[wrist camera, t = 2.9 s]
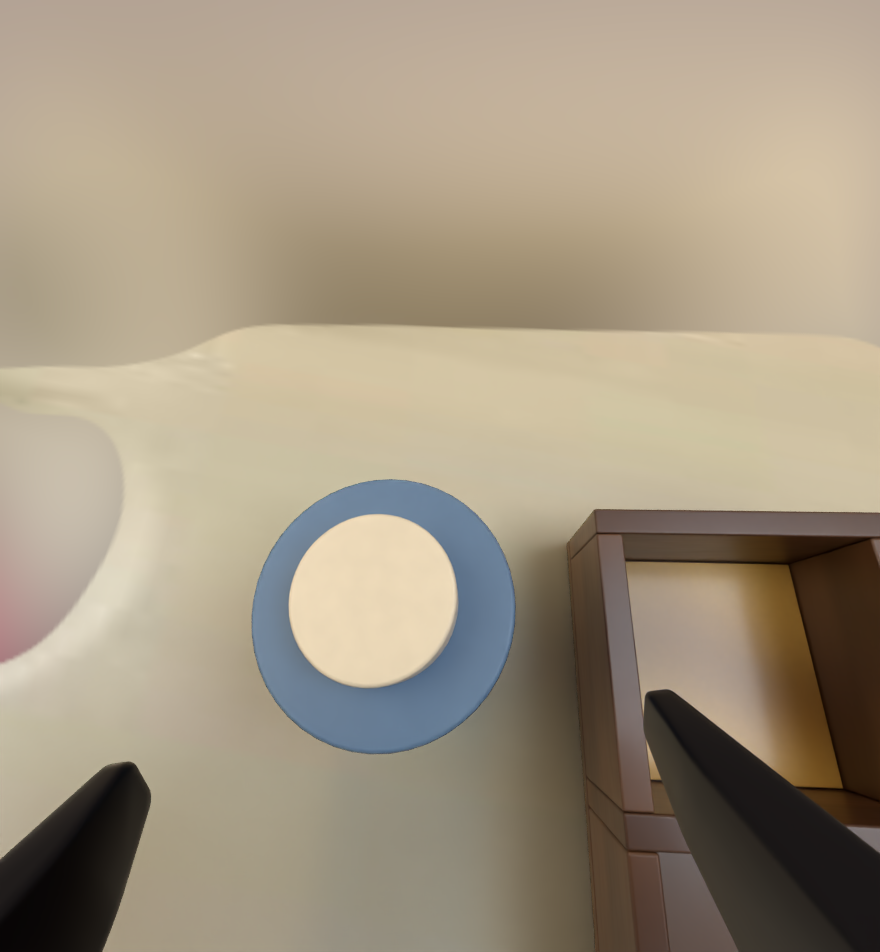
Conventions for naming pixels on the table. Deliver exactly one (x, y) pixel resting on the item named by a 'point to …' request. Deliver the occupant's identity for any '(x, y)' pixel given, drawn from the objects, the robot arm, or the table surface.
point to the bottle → (383, 616)
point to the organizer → (718, 687)
